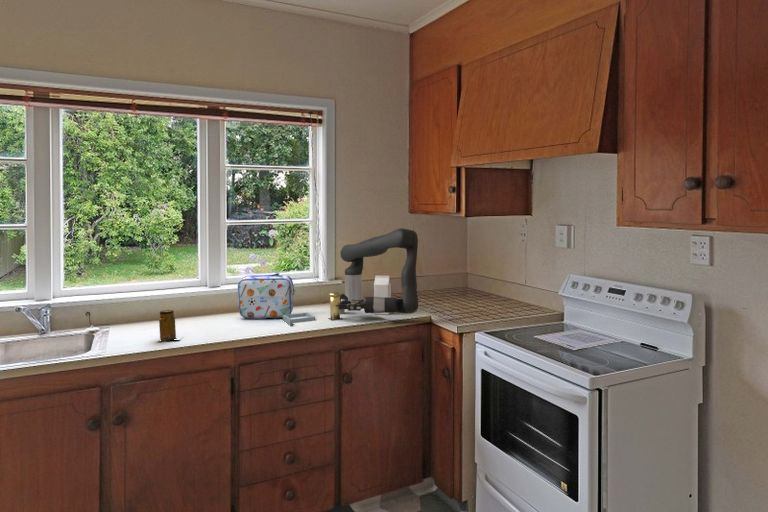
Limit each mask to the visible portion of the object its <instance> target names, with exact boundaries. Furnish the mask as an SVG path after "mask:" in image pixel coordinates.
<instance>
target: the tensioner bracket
mask: <svg viewBox="0 0 768 512" xmlns="http://www.w3.org/2000/svg"><path fill="white" fill-rule="evenodd" d="M339 293H340V304H341V302H342V301H348V297H347V296H346V295H345V293H344V292H339ZM345 312H346V309H340V315H344V314H346V313H345ZM327 319H328V320H330V321H331V322H333V321H335V320H331V317H329V318H327ZM342 320H344V319H343V318H341V317H340V319H339V320H338V321H342Z"/></svg>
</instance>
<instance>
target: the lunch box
mask: <svg viewBox="0 0 768 512" xmlns="http://www.w3.org/2000/svg"><path fill="white" fill-rule="evenodd" d="M296 292H297V289H296V288H295V284H294V282H293V279H292V278H291V277H290V275H284V274H283V275H280V273H279V272H277V273H274V274H259V275H257V274H256V275H255V274H254V275H253V274H252V275H246V276H244V277H243V276H242V278H241V279H240V280H239V281H238V284H237V299H238V311H239V315H240V316H241V317H242V318H243V319H244V318H245V319H250V320H251V319H253V320H254V319H255V320H257V319H258V320H259V319H260V320H267V319H266V318H273V319H283V315H288V314H292V312H293V310H294V295H295V293H296Z"/></svg>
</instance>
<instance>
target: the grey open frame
mask: <svg viewBox="0 0 768 512" xmlns="http://www.w3.org/2000/svg"><path fill="white" fill-rule="evenodd" d="M282 317H283V318H282V322H283V321H284V322H283V323H285V322H286V323H287V324H288V326H289V325H290V326H289V327H294V326H293V325H296V323H303V322H312V321H316V316H314V315H312V314H311V313H309V312H300V313H299V312H298V313H291V314H288V315H283V316H282ZM286 323H285V324H286ZM287 324H286V325H287Z"/></svg>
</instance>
